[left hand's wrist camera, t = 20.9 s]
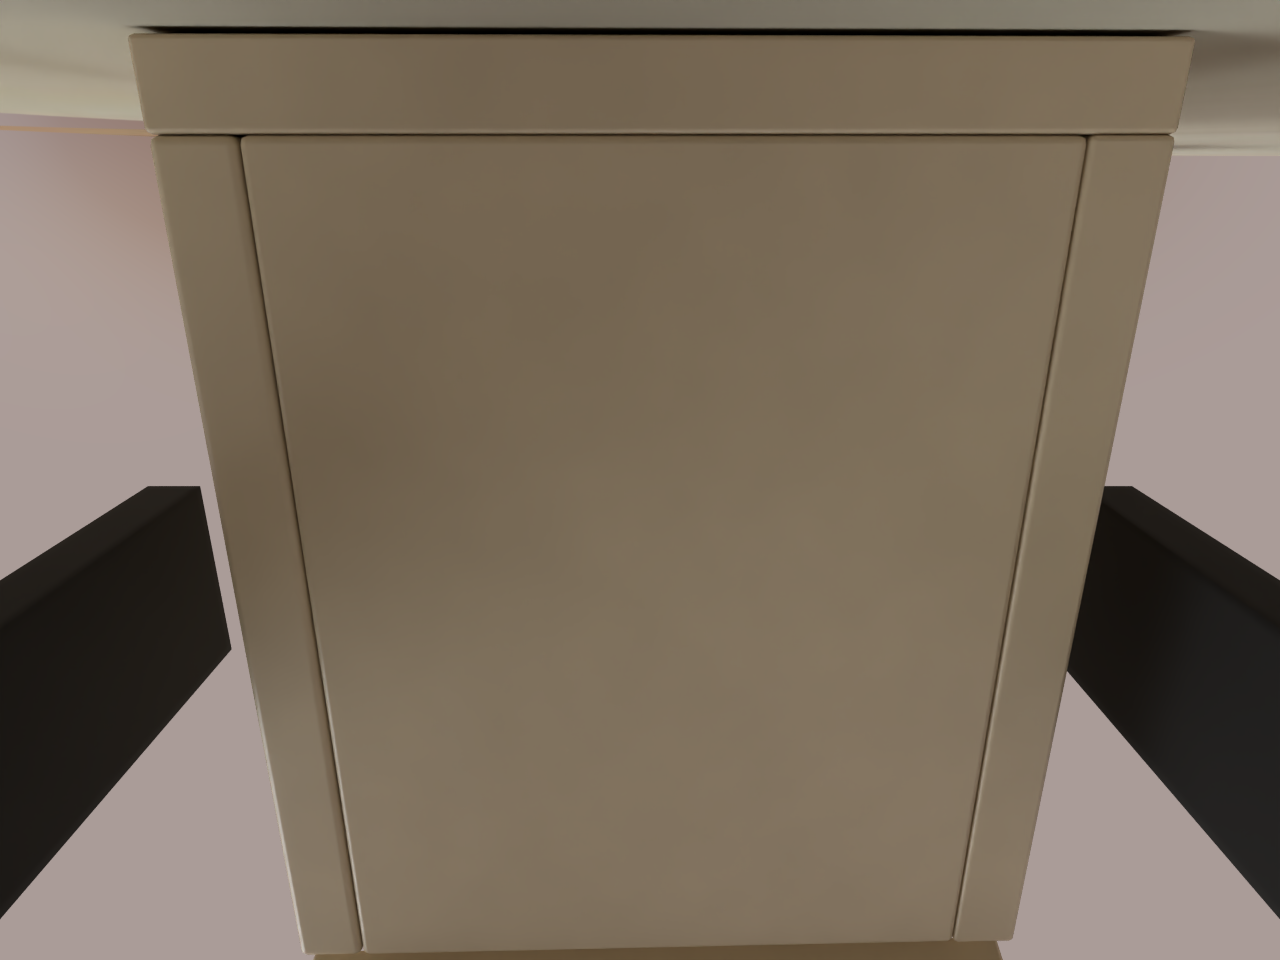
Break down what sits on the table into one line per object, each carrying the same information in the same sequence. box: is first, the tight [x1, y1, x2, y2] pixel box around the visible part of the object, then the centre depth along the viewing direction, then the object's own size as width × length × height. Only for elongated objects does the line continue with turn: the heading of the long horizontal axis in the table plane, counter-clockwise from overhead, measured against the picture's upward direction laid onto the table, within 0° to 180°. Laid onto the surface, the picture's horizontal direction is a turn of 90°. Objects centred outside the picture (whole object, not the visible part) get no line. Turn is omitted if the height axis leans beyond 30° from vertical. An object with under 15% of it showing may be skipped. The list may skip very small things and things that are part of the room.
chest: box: [128, 33, 1195, 955], centre depth 15 cm, size 13×9×10 cm
